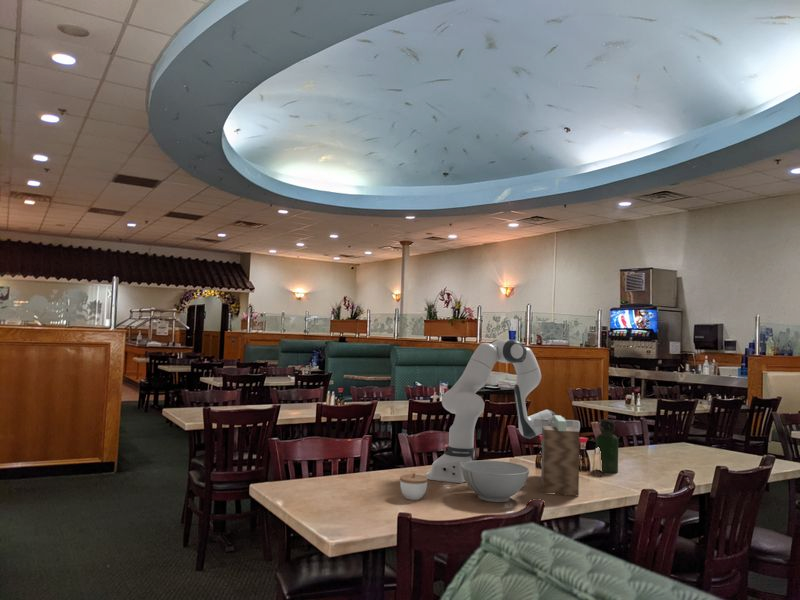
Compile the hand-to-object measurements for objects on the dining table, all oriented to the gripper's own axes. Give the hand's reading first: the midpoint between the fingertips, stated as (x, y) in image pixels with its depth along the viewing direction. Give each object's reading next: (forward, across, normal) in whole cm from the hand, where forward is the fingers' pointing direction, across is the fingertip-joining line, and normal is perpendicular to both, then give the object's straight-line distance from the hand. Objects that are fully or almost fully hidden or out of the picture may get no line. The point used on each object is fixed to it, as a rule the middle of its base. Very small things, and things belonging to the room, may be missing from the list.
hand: (557, 418), depth 267 cm
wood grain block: (-6, 0, +30) cm, 31 cm away
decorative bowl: (+11, -27, +40) cm, 49 cm away
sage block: (+4, 0, +6) cm, 7 cm away
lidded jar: (+18, -58, +44) cm, 75 cm away
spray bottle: (-50, +28, +5) cm, 57 cm away
